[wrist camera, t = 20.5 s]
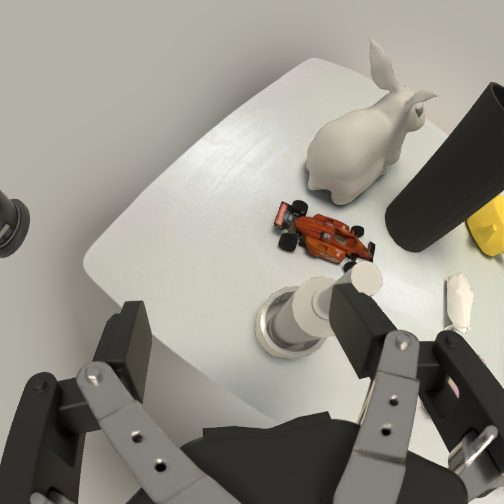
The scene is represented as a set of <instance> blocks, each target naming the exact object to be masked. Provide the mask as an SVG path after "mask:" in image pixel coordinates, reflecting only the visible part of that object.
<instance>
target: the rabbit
mask: <svg viewBox="0 0 504 504" xmlns="http://www.w3.org/2000/svg"><path fill="white" fill-rule="evenodd" d="M369 40H370V61H371V75H372V79H373V81H374V83H375V84H376V85H377V86H378V87H379V88H380V89H384V90H389V91H390V93H388V94H387V95H385V96H384V97H383V98H382V99H380V100H379V101H378V102H377V103H375V104H374V105H373V106H371V107H369V108H367V109H361V110H355V111H352V112H350V113H348V114H346V115H344V116H342V117H340V118H338V119H336V120H334V121H331V122H329V123H328V124H326V125H324V126H323V127H322V128H321V129H320V130H319V131H318V133H317V134H316V136H315V138H314V140H313V141H312V142H311V144H310V145H309V147H308V151H307V161H306V168H307V170H308V171H309V173H310V177H309V181H308V188H309V189H310V190H318V189H327V190H330V191H331V198H332V201H333V202H334V203H335V204H338V205H344V204H347V203H349V202H351V201H352V200H354V199H355V197H356V196H358V195H360V194H361V193H362V192H363V191H364V190H365V189H367V188H368V187H369V186H371V185H372V184H373V183H374V182H375V181H376V179H377V178H378V177H379V176H381V175H385V174H386V172H385V167H387V166H388V165H392V164H394V163H395V162H397V160H398V159H399V157H400V153H401V147H402V144H403V141H404V139H405V136H406V134H407V133H408V132H413V131H416V130H418V129H419V128H421V127H422V126H423V124H424V122H425V111H424V108H423V105H424V104H423V103H422V102H424V101H426V100H428V99H430V98H433V97H436V96H438V94H437V93H436V92H434V91H432V90H421V91H419V92H417V93H415V92H414V91H413V90H411V89H408V88H406V87H405V86H401V87H399V85H398V82H397V80H396V79H395V76H394V72H393V68H392V64H391V62H390V60H389V58H388V57H387V55H386V54H385V52H384V51H383V50H382V48H381V47H380V46H379V45H378V44H377V43H376V42H375V41H374V40H372V39H369Z"/></svg>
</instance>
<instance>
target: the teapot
mask: <svg viewBox="0 0 504 504" xmlns="http://www.w3.org/2000/svg"><path fill="white" fill-rule="evenodd" d="M467 223H468V226H469V229H470V231H471V234H472V236H473V238H474V240H475V241H476V243H477V244H478V246H479V247H480V248H481V250H482V251H483V252H484V253H485V254H487V255H490V256H496V255H498V254H500V253H501V252H502V253H503V254H504V196H502V195H497V196H496V197H495V198H494V199H492V200H491V201H490V202H489V203H487V204H486V205H485V206H483V207H482V208H481V209H480V210H478V211H477V212H476V213H474V214H473V215H472V216H470V217H469V218H468V219H467Z"/></svg>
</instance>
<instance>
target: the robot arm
mask: <svg viewBox="0 0 504 504" xmlns="http://www.w3.org/2000/svg"><path fill="white" fill-rule="evenodd" d="M20 223H21V212H20V209H19V208H18V207H17V206H16V205H15V204H14V203H13V202H12V201H11V200H10V199H8V198H7V196H6V195H5V194H4V193H2V192H1V190H0V249H1V248H4V247H5V246H7V245H8V244H9V243H10V242H11V241H12V240H13V239H14V237H15V236H16V234H17V232H18V229H19V226H20ZM329 323H330V326H331V328H332V330H333V332H334V334H335V336H336V337H337V339H338V341H339V343H340V345H341V346H342V348H343V350H344V352H345V354H346V356H347V357H348V359H349V361H350V363H351V365H352V367H353V368H354V370H355V372H356V374H357V376H358V378H359V379H362V378H366V377H370V379H371V382H370V385H369V388H368V391H367V394H366V397H365V400H364V403H363V406H362V409H361V412H360V414H359V417H358V420H357V422H356V423H353V422H350V421H345V420H338V419H331V418H330V415H329V413H328V411H326V412H322V413H317V414H312V415H307V416H302V417H298V418H295V419H293V420H290V421H288V422H286V423H283V424H280V425H278V426H275V427H273V428H269V429H260V428H249V427H238V426H230V427H217V428H203V437H201V438H198V439H195V440H193V441H190V442H188V443H186V444H184V445H183V446H181V447H180V448H179V447H178V446H177V445H176V444H175V443H174V442H173V441H172V440H171V439H170V437H169V436H168V435H167V434H166V433H165V432H164V431H163V430H162V428H161V427H160V426H159V425H158V424H157V423H156V421H155V420H154V419H153V418H152V417H151V415H150V414H149V413H148V412H147V411H146V410H145V408H144V407H143V406H142V404H141V403H143V397H144V389H145V382H146V376H147V369H148V363H149V357H150V351H151V346H152V334H151V328H150V325H149V321H148V317H147V313H146V309H145V305H144V302H143V301H126V302H125V303H124V305H123V308H122V311H121V313H120V314H114V315H113V316H112V317H111V318H110V319H109V320H108V321H107V323H106V325H105V328H104V332H103V333H102V336H101V339H100V341H99V344H98V347H97V349H96V352H95V355H94V358H93V361H92V362H91V363H88V364H86V365H84V366H83V367H82V368H81V369H80V370H79V371H78V373H77V376H76V377H75V378H72V379H67V380H62V381H57V380H56V378H55V377H54V375H52V374H51V373H48V372H41V373H38V374H36V375H34V376H32V377H31V378H30V379H29V380H28V382H27V384H26V386H25V388H24V391H23V394H22V396H21V399H20V402H19V405H18V407H17V410H16V413H15V416H14V419H13V422H12V425H11V428H10V431H9V435H8V438H7V442H6V445H5V449H4V453H3V456H2V460H1V464H0V504H78V496H79V484H80V473H81V465H82V455H83V449H84V442H85V435H86V432H91V431H96V430H101V429H102V430H103V432H104V434H105V435H106V437H107V439H108V440H109V442H110V443H111V445H112V446H113V448H114V449H115V451H116V452H117V454H118V455H119V456H120V458H121V460H122V461H123V462H124V464H125V465H126V467H127V468H128V469H129V471H130V472H131V474H132V475H133V476H134V477H135V479H136V480H137V481H138V483H139V484H140V485H141V488H140V489H139V490H138V491H137V493H136V494H135V495H134V496H133V497H132V498H131V499H130V500H129V501H128V502H127V503H126V504H468V502H470V501H471V500H473V499H475V498H482V497H485V496H486V495H488V494H489V493H491V492H492V491H493V490H495V489H496V488H498V487H499V486H500V485H502V484H503V483H504V389H503V387H502V386H501V385H500V383H499V382H498V381H497V379H496V378H495V377H494V376H493V374H492V373H491V372H490V370H489V369H488V368H487V366H486V365H485V364H484V363H483V361H482V360H481V359H480V358H479V356H478V355H477V354H476V353H475V351H474V350H473V349H472V348H471V347H470V345H469V344H468V343H467V342H466V341H465V339H464V338H463V337H462V336H461V335H459V334H458V333H456V332H453V331H441V332H440V333H438V335H437V337H436V339H435V341H419V340H418V339H417V337H416V336H415V335H413V334H412V333H410V332H408V331H404V330H397V328H396V327H395V326H394V324H393V323H392V322H391V321H390V319H389V318H388V317H387V316H386V315H385V313H384V312H382V310H381V308H380V307H379V306H377V304H376V302H375V301H374V300H373V299H372V298H371V297H370V296H368V295H366V294H365V293H363V292H359V291H358V290H357V289H356V288H355V286H354V285H353V284H352V283H342V284H335V285H334V286H333V288H332V294H331V302H330V308H329ZM450 378H451V379H452V380H453V382H454V383H455V385H456V386H457V388H458V391H459V398H458V397H457V395H456V394H455V392H454V390H453V389H452V387H451V386H450V384H449V383H448V381H449V379H450ZM418 395H419V397H420V399H421V401H422V402H423V404H424V406H425V408H426V410H427V411H428V413H429V415H430V417H431V419H432V421H433V422H434V424H435V426H436V428H437V430H438V432H439V434H440V436H441V437H442V439H443V441H444V443H445V445H446V447H447V449H448V451H449V453H450V454H449V457H448V465H449V467H448V468H445V467H443V466H440V465H438V464H436V463H434V462H432V461H429V460H427V459H425V458H423V457H421V456H419V455H417V454H415V453H413V452H411V451H409V450H408V446H409V441H410V437H411V432H412V427H413V422H414V416H415V411H416V405H417V398H418Z"/></svg>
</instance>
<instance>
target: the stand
mask: <svg viewBox="0 0 504 504" xmlns="http://www.w3.org/2000/svg"><path fill="white" fill-rule="evenodd" d="M298 287H299V286H295V287H285V288H283V289H281V290H279V291H277V292H275V293H274V294H272V295H271V296H270V298H269V299H268V300H267V301H266V303H265V304H264V305H263V307H262V308H261V310H260V312H259V313H258V316H257V319H256V322H255V334H256V338H257V340H258V342H259V344H260V345H261V347H262V348H263V349H264V350H265V351H266V352H268V353H269V354H271V355H273V356H276V357H280V358H295V357H301V356H307V355H309V354H311V353H313V352H314V351H316V350H317V349H319V348H320V347H321V346H322V344H323V343H324V341H325V340H326V339H327V337H326V338H321V339H317V340H312V341H307V342H302V343H299V344H298V345H296V346H293V347H287V348H286V347H281V346H278V345H277V344H275V343H274V342H273V341H272V340H271V338H270V336H269V334H268V329H267V327H268V323H269V320H270V318H271V317H272V316H273V314H274V313H276V312H277V311H279V310H280V309H281V308H282V307H283V306H284V305H285V303H286V302H287V301H288V300H289V298H290V297H291V296H292V295H293V294H294V292H295V291H296V290H297V289H298Z"/></svg>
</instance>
